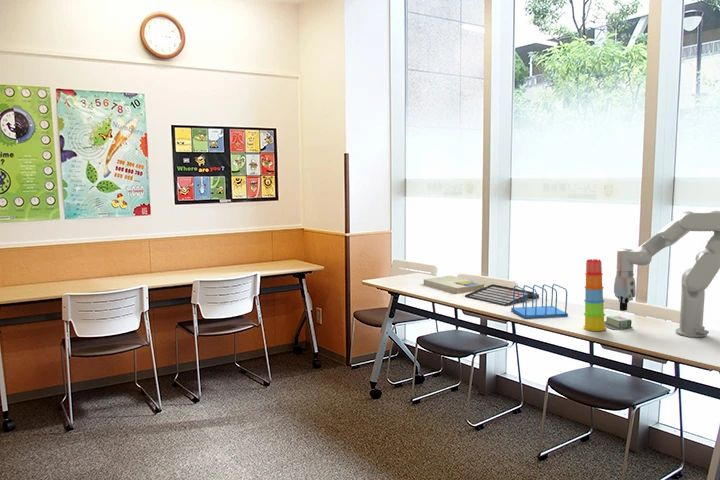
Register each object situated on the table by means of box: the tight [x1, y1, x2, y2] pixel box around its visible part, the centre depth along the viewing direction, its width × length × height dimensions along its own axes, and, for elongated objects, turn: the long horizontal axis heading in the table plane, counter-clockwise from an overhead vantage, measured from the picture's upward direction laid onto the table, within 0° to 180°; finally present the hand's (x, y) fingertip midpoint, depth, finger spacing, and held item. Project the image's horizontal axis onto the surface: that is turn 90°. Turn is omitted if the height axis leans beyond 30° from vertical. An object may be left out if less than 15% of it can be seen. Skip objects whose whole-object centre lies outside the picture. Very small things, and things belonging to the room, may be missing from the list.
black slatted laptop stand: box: [464, 283, 540, 307], centre depth 355 cm, size 32×7×31 cm
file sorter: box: [510, 283, 569, 319], centre depth 315 cm, size 25×17×15 cm
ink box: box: [604, 315, 632, 330], centre depth 290 cm, size 7×4×13 cm
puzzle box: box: [423, 275, 485, 295], centre depth 388 cm, size 36×5×24 cm
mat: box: [604, 323, 633, 331], centre depth 290 cm, size 13×12×1 cm
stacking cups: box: [582, 258, 607, 332], centre depth 282 cm, size 10×10×35 cm
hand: (623, 310), depth 285 cm, fingers closed
